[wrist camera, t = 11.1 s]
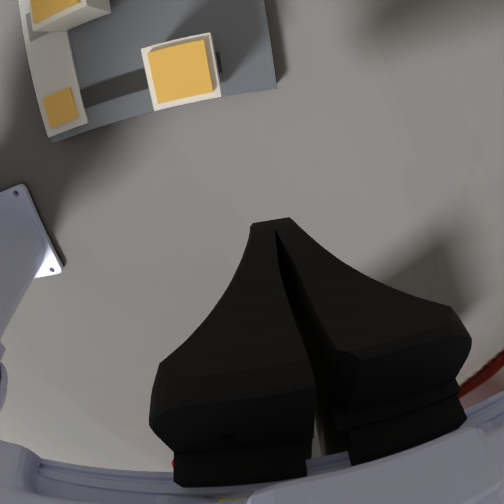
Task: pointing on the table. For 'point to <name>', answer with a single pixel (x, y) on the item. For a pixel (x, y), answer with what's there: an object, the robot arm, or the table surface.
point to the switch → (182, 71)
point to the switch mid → (65, 13)
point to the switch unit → (138, 58)
